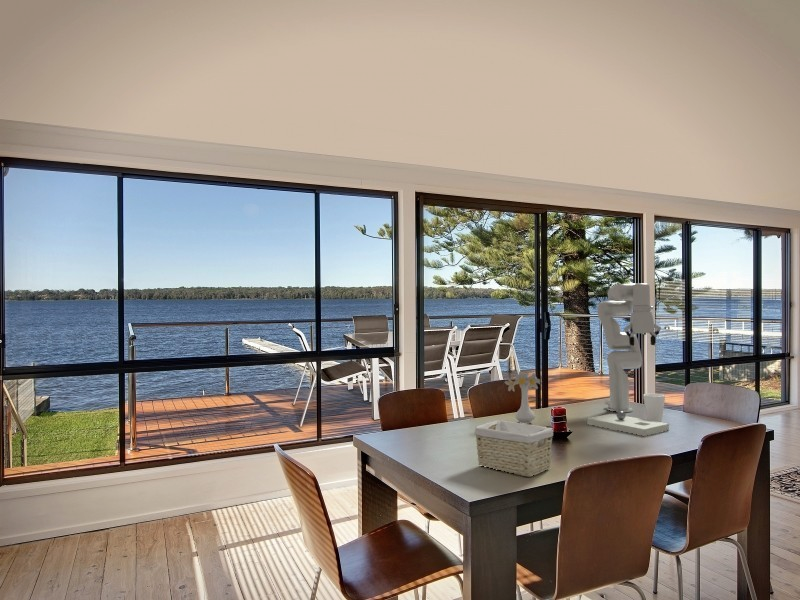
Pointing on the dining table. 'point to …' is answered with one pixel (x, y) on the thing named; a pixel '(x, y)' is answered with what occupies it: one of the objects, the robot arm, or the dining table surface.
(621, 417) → the steel ball
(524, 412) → the flower vase
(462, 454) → the dining table surface
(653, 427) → the hole board
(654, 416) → the foam cup
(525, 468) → the storage basket
